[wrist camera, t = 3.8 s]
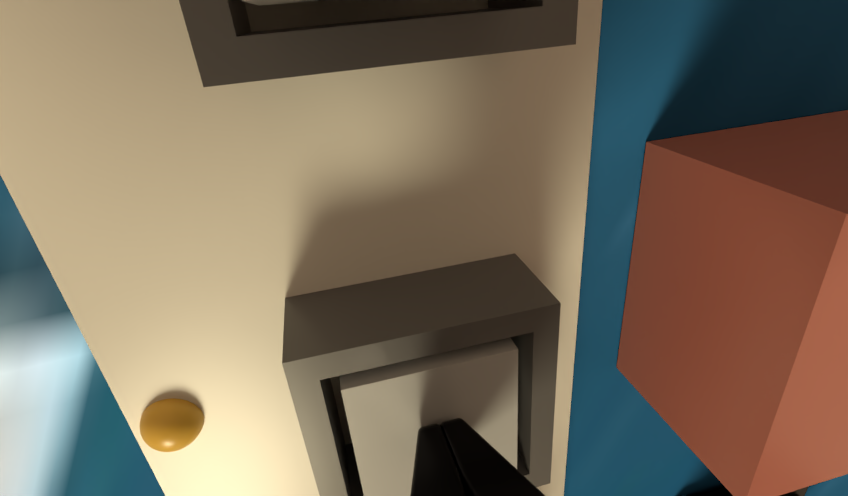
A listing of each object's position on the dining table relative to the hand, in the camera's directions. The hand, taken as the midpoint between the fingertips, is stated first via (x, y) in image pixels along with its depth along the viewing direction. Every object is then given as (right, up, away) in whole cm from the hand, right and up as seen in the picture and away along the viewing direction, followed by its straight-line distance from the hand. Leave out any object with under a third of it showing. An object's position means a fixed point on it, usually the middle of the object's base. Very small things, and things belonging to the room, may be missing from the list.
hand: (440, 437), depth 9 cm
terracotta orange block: (+9, +4, +5) cm, 11 cm away
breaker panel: (-2, +2, +3) cm, 4 cm away
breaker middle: (0, +1, +2) cm, 2 cm away
